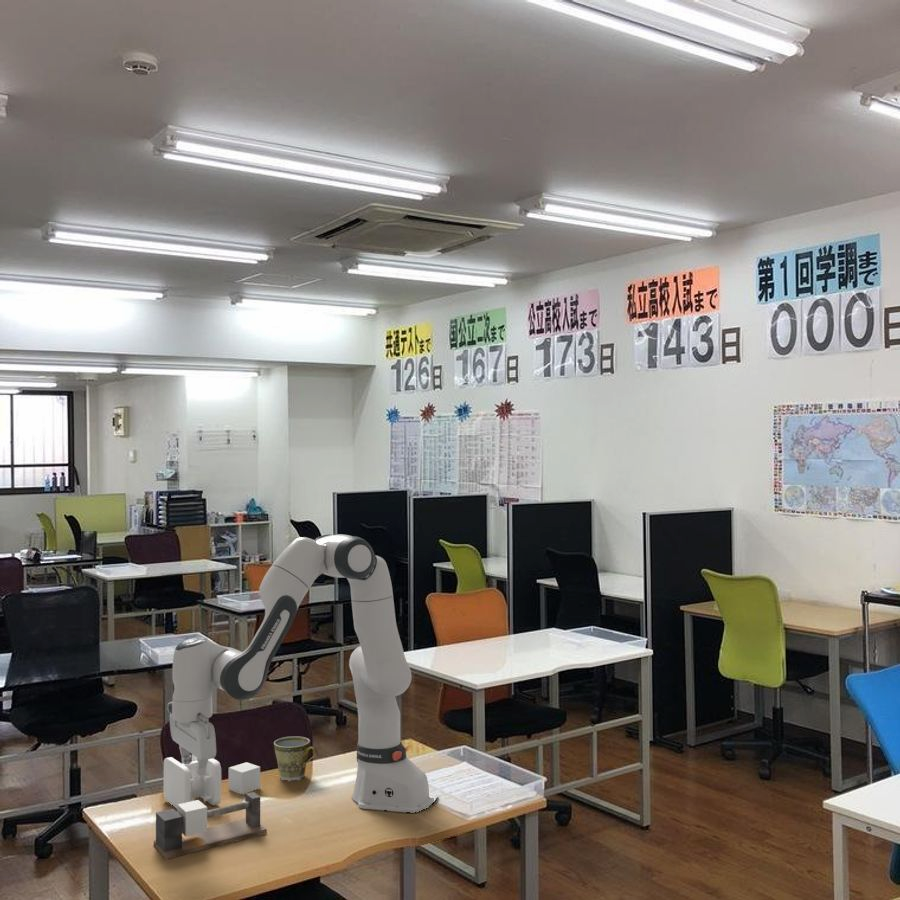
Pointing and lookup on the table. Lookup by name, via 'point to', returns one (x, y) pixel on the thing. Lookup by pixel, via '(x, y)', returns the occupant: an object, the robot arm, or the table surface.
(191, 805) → the white cube
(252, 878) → the table surface
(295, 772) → the ceramic cup
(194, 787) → the cable organizer
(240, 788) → the light gray cube
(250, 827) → the rail
